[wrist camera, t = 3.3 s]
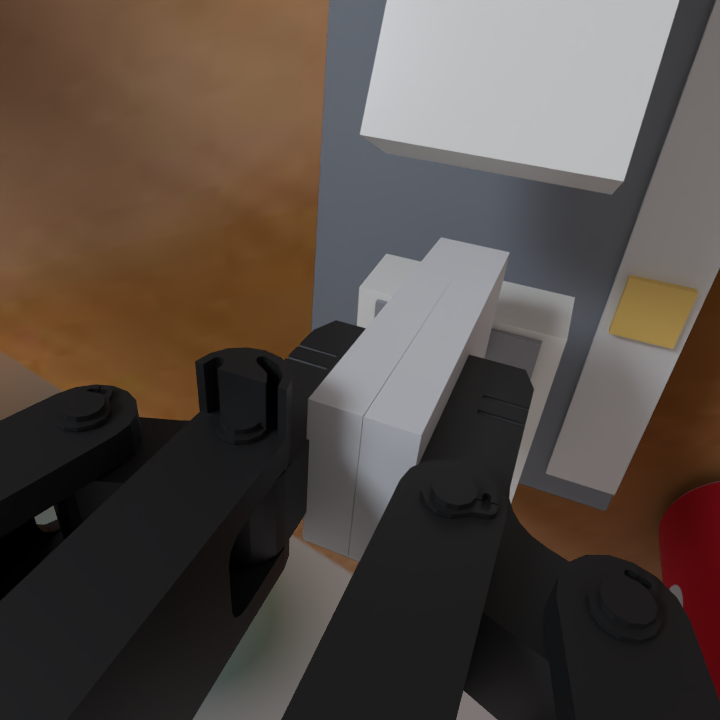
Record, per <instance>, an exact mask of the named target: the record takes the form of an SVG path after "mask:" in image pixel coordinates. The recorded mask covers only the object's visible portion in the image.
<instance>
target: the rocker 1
mask: <svg viewBox="0 0 720 720" xmlns="http://www.w3.org/2000/svg"><path fill="white" fill-rule="evenodd" d="M678 3H679V0H387V2H386V7H385V12H384V17H383V22H382V27H381V32H380V37H379V41H378V46H377V51H376V56H375V61H374V66H373V71H372V76H371V81H370V86H369V91H368V96H367V101H366V106H365V111H364V116H363V121H362V126H361V131H360V135H361V136H362V137H364V138H365V139H367V140H368V141H369V142H371V143H372V144H374V145H375V146H377V147H378V148H379V149H381V150H382V151H384V152H385V153H388V154H393V155H399V156H404V157H409V158H415V159H420V160H426V161H431V162H437V163H442V164H447V165H453V166H458V167H464V168H469V169H475V170H480V171H486V172H491V173H496V174H502V175H507V176H513V177H518V178H524V179H529V180H535V181H540V182H545V183H551V184H556V185H562V186H567V187H573V188H578V189H584V190H589V191H594V192H600V193H605V194H611V195H612V194H613V193H614V192H615V190H616V189H617V188H618V187H619V186H620V185H621V184H622V183H623V182H624V179H625V176H626V173H627V169H628V166H629V163H630V159H631V156H632V153H633V150H634V146H635V143H636V140H637V137H638V133H639V130H640V127H641V124H642V120H643V117H644V114H645V111H646V107H647V104H648V101H649V98H650V94H651V91H652V88H653V85H654V81H655V78H656V75H657V72H658V68H659V65H660V62H661V59H662V55H663V52H664V49H665V46H666V42H667V39H668V36H669V33H670V29H671V26H672V23H673V20H674V16H675V13H676V10H677V7H678Z"/></svg>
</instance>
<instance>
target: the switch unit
mask: <svg viewBox="0 0 720 720" xmlns="http://www.w3.org/2000/svg"><path fill="white" fill-rule="evenodd" d="M386 2H387V0H329V15H328V34H327V52H326V71H325V89H324V107H323V126H322V144H321V163H320V181H319V200H318V218H317V237H316V255H315V273H314V292H313V310H312V329H311V332H312V331H313V330H314V329H317V328H319V327H321V326H324V325H326V324H328V323H331V322H333V321H335V320H337V321H341V322H344V323H348V324H352V325H355V326H357V315H358V299H359V287H360V286H361V284H362V283H363V282H364V281H365V279H366V278H367V277H368V276H369V274H370V273H371V272H372V271H373V270H374V268H375V267H376V266H377V265H378V263H379V262H380V261H381V260H382V258H383V257H384V256H385V255H386V254H390V255H395V256H399V257H403V258H408V259H412V260H416V261H420V262H421V261H422V260H423V259H424V257H425V256H426V255H427V254H428V253H429V251H430V250H431V249H432V248H433V247H434V245H435V244H436V243H437V242H438V240H439V239H440V238H441V237H442V238H447V239H451V240H456V241H460V242H465V243H470V244H474V245H478V246H483V247H488V248H492V249H497V250H501V251H506V252H510V254H509V258H508V262H507V266H506V270H505V275H504V279H503V281H507V282H511V283H515V284H520V285H524V286H528V287H533V288H537V289H541V290H545V291H550V292H554V293H558V294H563V295H567V296H571V297H575V300H574V305H573V311H572V316H571V322H570V327H569V332H568V338H567V342H566V344H565V347H564V350H563V353H562V356H561V359H560V362H559V365H558V368H557V371H556V374H555V377H554V380H553V383H552V385H551V388H550V391H549V394H548V397H547V400H546V403H545V406H544V409H543V412H542V415H541V418H540V421H539V424H538V426H537V429H536V432H535V435H534V438H533V441H532V444H531V447H530V450H529V453H528V456H527V459H526V462H525V465H524V467H523V470H522V473H521V476H520V479H519V482H518V483H519V484H522V485H525V486H529V487H532V488H535V489H538V490H541V491H544V492H547V493H550V494H553V495H556V496H560V497H563V498H566V499H569V500H572V501H575V502H578V503H581V504H584V505H588V506H591V507H594V508H597V509H600V510H603V511H606V510H607V507H608V505H609V503H610V501H611V499H612V497H613V495H615V494H616V492H617V489H618V487H619V485H620V483H621V481H622V479H623V476H624V474H625V472H626V470H627V468H628V466H629V463H630V461H631V459H632V457H633V455H634V453H635V450H636V448H637V446H638V444H639V442H640V440H641V437H642V435H643V433H644V431H645V429H646V427H647V424H648V422H649V420H650V418H651V416H652V414H653V411H654V409H655V407H656V405H657V403H658V401H659V398H660V396H661V394H662V392H663V390H664V388H665V385H666V383H667V381H668V379H669V377H670V375H671V372H672V370H673V368H674V366H675V364H676V362H677V359H678V357H679V355H680V353H681V351H682V349H683V346H684V344H685V342H686V340H687V338H688V336H689V333H690V331H691V329H692V327H693V325H694V323H695V320H696V318H697V316H698V314H699V312H700V310H701V307H702V305H703V303H704V301H705V299H706V297H707V294H708V292H709V290H710V288H711V286H712V284H713V281H714V279H715V277H716V275H717V273H718V271H719V268H720V0H679V3H678V7H677V10H676V13H675V16H674V20H673V23H672V26H671V29H670V33H669V36H668V39H667V42H666V46H665V49H664V52H663V55H662V59H661V62H660V65H659V68H658V72H657V75H656V78H655V81H654V85H653V88H652V91H651V94H650V98H649V101H648V104H647V107H646V111H645V114H644V117H643V120H642V124H641V127H640V130H639V133H638V137H637V140H636V143H635V146H634V150H633V153H632V156H631V159H630V163H629V166H628V169H627V173H626V176H625V179H624V182H623V183H622V184H621V185H620V186H619V187H618V188H617V189H616V190H615V192H614V193H613V194H612V195H611V194H605V193H600V192H594V191H589V190H584V189H578V188H573V187H567V186H562V185H556V184H551V183H545V182H540V181H535V180H529V179H524V178H518V177H513V176H507V175H502V174H496V173H491V172H486V171H480V170H475V169H469V168H464V167H458V166H453V165H447V164H442V163H437V162H431V161H426V160H420V159H415V158H409V157H404V156H399V155H393V154H388V153H385V152H384V151H382V150H381V149H379V148H378V147H377V146H375V145H374V144H372V143H371V142H369V141H368V140H367V139H365V138H364V137H362V136H361V135H360V131H361V126H362V121H363V116H364V111H365V106H366V101H367V96H368V91H369V86H370V81H371V76H372V71H373V66H374V61H375V56H376V51H377V46H378V41H379V37H380V32H381V27H382V22H383V17H384V12H385V7H386Z"/></svg>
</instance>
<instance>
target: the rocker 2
mask: <svg viewBox="0 0 720 720" xmlns="http://www.w3.org/2000/svg"><path fill="white" fill-rule="evenodd" d="M419 264H420V261H416V260H412V259H408V258H403V257H399V256H395V255H390V254H386V255H385V256H384V257H383V258H382V260H381V261H380V262H379V263H378V265H377V266H376V267H375V268H374V270H373V271H372V272H371V273H370V274H369V276H368V277H367V278H366V279H365V281H364V282H363V283H362V284H361V286H360V287H359V299H358V315H357V326H359V327H363V328H367V327H368V326H369V324H370V323H371V322H372V321H373V319H374V318H375V317H376V316H377V315H378V313H379V312H380V311H381V310H382V309H383V307H384V306H385V305H386V304H387V302H388V301H389V300H390V299H391V298H392V296H393V295H394V294H395V293H396V292H397V290H398V289H399V288H400V287H401V285H402V284H403V283H404V282H405V281H406V279H407V278H408V277H409V276H410V274H411V273H412V272H413V271H414V270H415V268H416V267H417V266H418V265H419ZM574 300H575V297H571V296H567V295H563V294H558V293H554V292H550V291H545V290H541V289H537V288H533V287H528V286H524V285H520V284H515V283H511V282H507V281H503V283H502V287H501V291H500V295H499V300H498V304H497V308H496V312H495V316H494V321H493V325H492V329H491V333H490V337H489V341H488V346H487V350H486V354H485V358H484V359H488V360H491V361H495V362H499V363H502V364H506V365H510V366H514V367H517V368H521V369H525V370H526V371H527V374H528V376H529V378H530V381H531V383H532V385H533V388H534V392H533V396H532V400H531V404H530V408H529V412H528V416H527V420H526V424H525V428H524V433H523V437H522V441H521V445H520V449H519V453H518V457H517V461H516V465H515V469H514V473H513V477H512V481H511V486H510V498H509V499H510V502H511V503H512V500H513V497H514V494H515V491H516V488H517V485H518V482H519V479H520V476H521V473H522V470H523V467H524V465H525V462H526V459H527V456H528V453H529V450H530V447H531V444H532V441H533V438H534V435H535V432H536V429H537V426H538V424H539V421H540V418H541V415H542V412H543V409H544V406H545V403H546V400H547V397H548V394H549V391H550V388H551V385H552V383H553V380H554V377H555V374H556V371H557V368H558V365H559V362H560V359H561V356H562V353H563V350H564V347H565V344H566V342H567V338H568V332H569V327H570V322H571V316H572V311H573V305H574Z"/></svg>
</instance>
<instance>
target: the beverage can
mask: <svg viewBox="0 0 720 720" xmlns="http://www.w3.org/2000/svg"><path fill="white" fill-rule="evenodd" d="M659 543H660V554H661V565H662V576H663V584H664V585H665V586H666V587H667V588H668V589H669V590H670V591H671V592H672V593H673V594H674V595H675V596H676V597H677V598H678V600H679V602H680V603H681V605H682V607H683V609H684V610H685V612H686V614H687V616H688V617H689V619H690V621H691V624H692V627H693V629H694V632H695V635H696V638H697V640H698V643H699V646H700V648H701V651H702V654H703V657H704V659H705V662H706V665H707V668H708V670H709V673H710V676H711V678H712V681H713V684H714V687H715V689H716V692H717V695H718V698H719V700H720V481H717V482H712V483H709V484H706V485H702V486H700V487H697V488H695V489H693V490H690V491H689V492H687V493H685V494H683V495H682V496H681V497H679V498H678V499H677V500H675V501H674V502H673V503H672V504H671V505H670V507H669V508H668V509H667V511H666V512H665V514H664V515H663V517H662V520H661V522H660V526H659Z"/></svg>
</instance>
